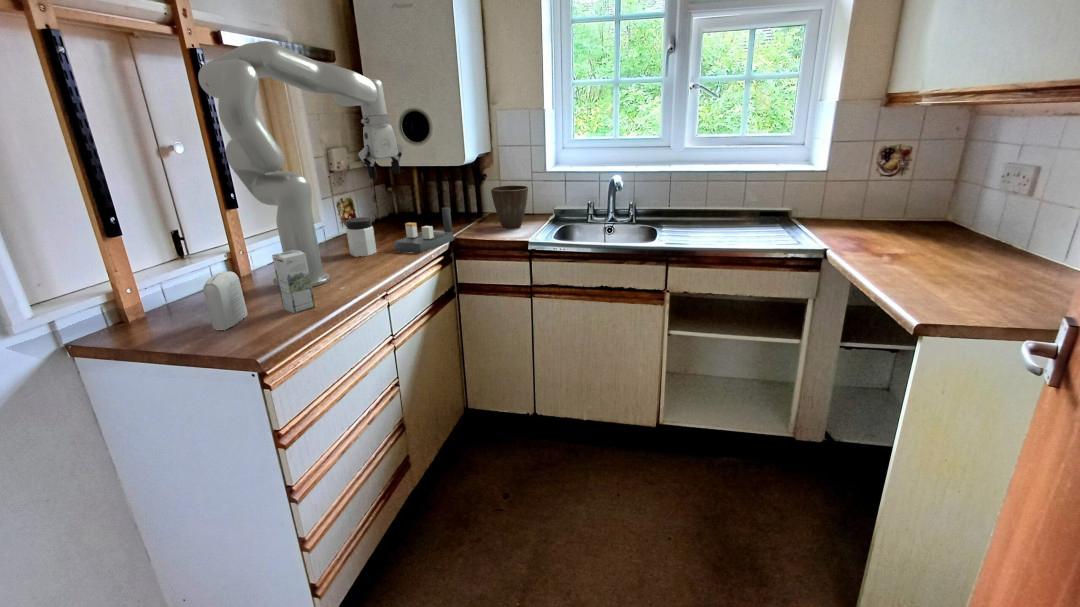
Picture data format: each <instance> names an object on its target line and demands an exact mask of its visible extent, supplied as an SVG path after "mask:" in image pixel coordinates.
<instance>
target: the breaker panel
mask: <svg viewBox="0 0 1080 607" xmlns="http://www.w3.org/2000/svg"><path fill="white" fill-rule="evenodd" d="M417 234H418V236H417V237H414V238H410V237H407V236H406V237H404V238H401V239H397V240H394V244H393V245H394V249H395V252H397V251H400V252H399V253H408V252H413V253H412V254H418V253H421V254H423V252H424V253H426V252H429V251H431V250H433V248H434V249H436V248H439V247H441V246H443V245H446V244H448V243H450V242H453V241H454V240H453V236H454V231H453V230H452V231H450V232H445V231H444V229H443V230H442V229H433V235H434V238H431V239H423V236H422V231H420V232H417ZM435 247H436V248H435ZM430 249H431V250H430ZM428 250H429V251H428ZM425 251H426V252H425Z"/></svg>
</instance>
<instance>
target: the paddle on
mask: <svg viewBox="0 0 1080 607" xmlns="http://www.w3.org/2000/svg"><path fill="white" fill-rule="evenodd" d="M404 226H405V233H406V237H410V238H414V237H417V236H418V234H417V233H418V227H417V226H418V225H417V222H406V223H404Z"/></svg>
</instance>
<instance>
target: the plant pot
mask: <svg viewBox="0 0 1080 607" xmlns="http://www.w3.org/2000/svg"><path fill="white" fill-rule="evenodd" d="M490 192H491V198H492V202H493V205H494V209H495V212H496V214H497V218H498V219H499V220H498V221H499V222H500V225H501V227H502V229H504V230H517V229H520V228H521V227H522V224H523V222H524V216H525V213H526V209H527V204H528V203H527V201H528V195H529V194H528V193H529V187H528V186H527V185H500V186H494V187H491V188H490Z"/></svg>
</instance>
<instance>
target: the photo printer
mask: <svg viewBox="0 0 1080 607" xmlns="http://www.w3.org/2000/svg"><path fill="white" fill-rule="evenodd" d="M202 292H203V295H204V299H205V304H206V307H207V310H208V314H209V318H210V322H211V325H212V329H213V330H214V329H219V330H220V329H227V328H230V327H232V326H233V327H234V326H236V325H237V324H239V323H240V322H241V321H243V318H244V319H245V318H246V317H248V310H247V309H248V308H247V306H246V302H245V297H244V294H243V290H242V286H241V281H240V278H239V276H238V275H237V274H236V273H235V272H233V271H231V270H230V271H220V272H217V273H215V274H214V275H212V276H211V277H210V278H209V279H207V281H206V282H205V283H204V285H203V287H202ZM239 321H240V322H239ZM235 324H236V325H235ZM233 327H232V328H233ZM230 329H231V328H230Z"/></svg>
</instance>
